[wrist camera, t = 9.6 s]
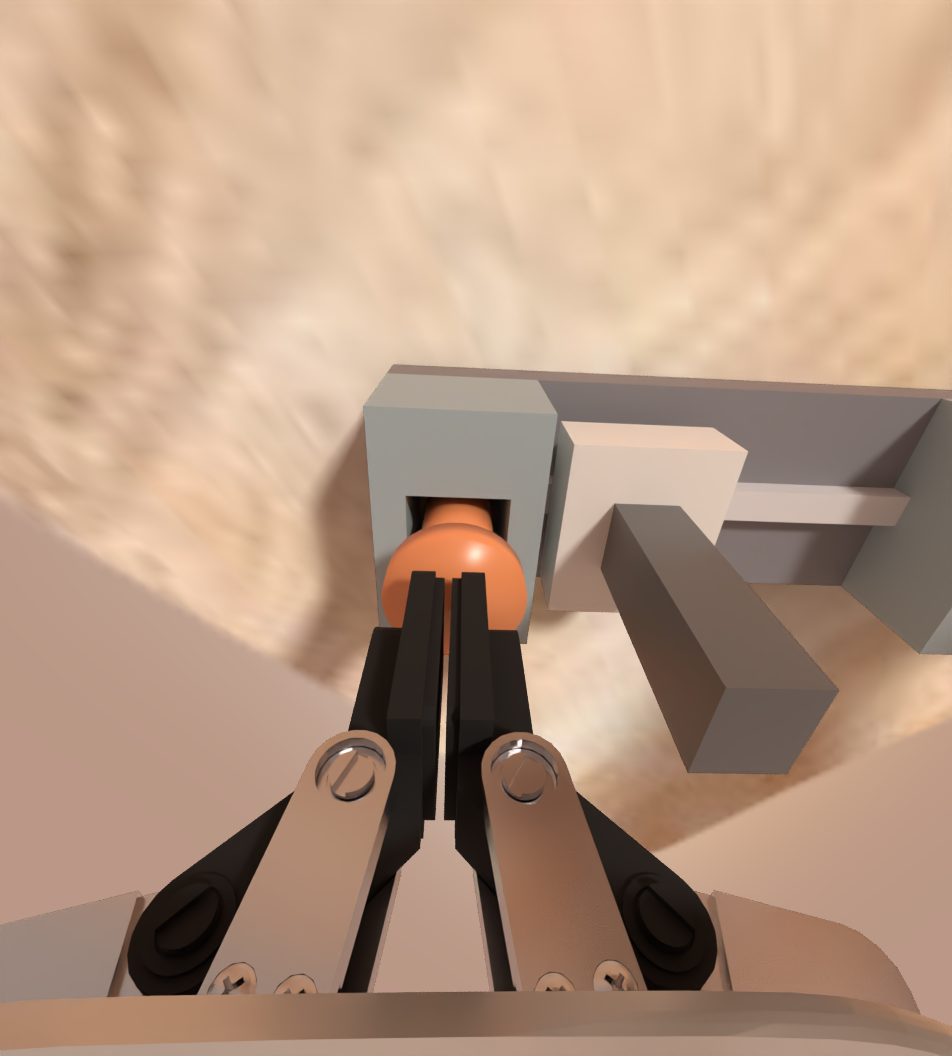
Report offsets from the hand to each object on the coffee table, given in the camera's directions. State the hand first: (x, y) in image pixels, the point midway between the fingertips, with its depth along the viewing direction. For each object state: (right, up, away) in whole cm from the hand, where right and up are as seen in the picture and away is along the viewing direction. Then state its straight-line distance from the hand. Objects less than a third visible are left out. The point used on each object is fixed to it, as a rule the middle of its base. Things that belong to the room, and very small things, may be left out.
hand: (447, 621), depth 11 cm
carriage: (+6, +3, +6) cm, 9 cm away
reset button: (0, +3, +5) cm, 6 cm away
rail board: (+9, +4, +8) cm, 12 cm away
